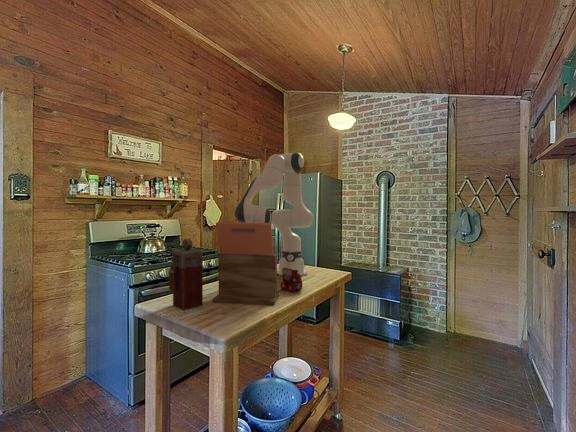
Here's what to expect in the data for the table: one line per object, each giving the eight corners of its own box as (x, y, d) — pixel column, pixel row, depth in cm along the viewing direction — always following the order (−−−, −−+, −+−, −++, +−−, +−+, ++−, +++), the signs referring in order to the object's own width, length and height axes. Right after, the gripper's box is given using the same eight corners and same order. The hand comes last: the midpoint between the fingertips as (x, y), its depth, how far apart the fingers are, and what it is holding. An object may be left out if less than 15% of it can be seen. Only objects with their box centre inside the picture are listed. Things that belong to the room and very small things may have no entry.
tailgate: (221, 251, 139) (216, 222, 132) (273, 253, 135) (271, 222, 129) (219, 254, 137) (214, 224, 130) (272, 256, 133) (270, 225, 127)
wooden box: (223, 292, 147) (223, 251, 146) (279, 295, 143) (279, 252, 142) (212, 302, 133) (212, 256, 132) (274, 305, 129) (274, 258, 128)
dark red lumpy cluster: (296, 294, 146) (296, 272, 145) (277, 288, 154) (277, 268, 153) (305, 290, 151) (305, 269, 150) (287, 286, 159) (287, 266, 158)
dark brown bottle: (167, 306, 127) (166, 239, 126) (192, 300, 135) (191, 237, 134) (177, 311, 121) (176, 241, 120) (203, 305, 129) (202, 238, 128)
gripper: (232, 227, 149) (222, 229, 135) (273, 228, 146) (268, 230, 133) (232, 240, 149) (222, 243, 136) (273, 241, 147) (267, 245, 133)
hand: (245, 237), depth 134 cm, fingers closed, pressing on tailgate
